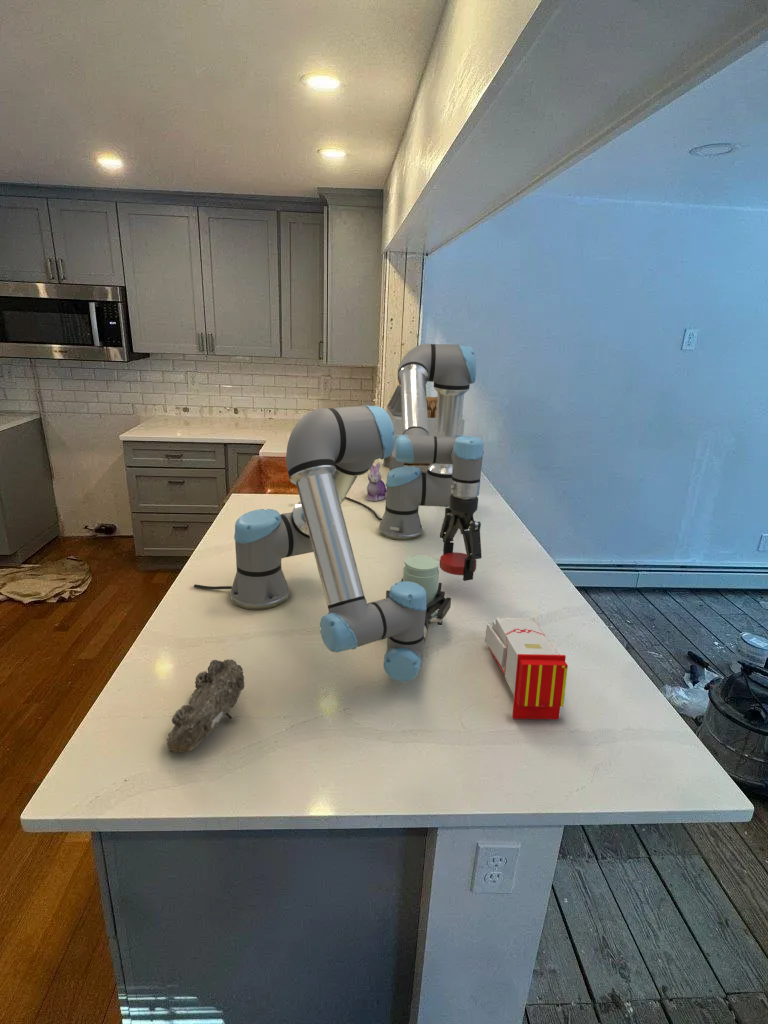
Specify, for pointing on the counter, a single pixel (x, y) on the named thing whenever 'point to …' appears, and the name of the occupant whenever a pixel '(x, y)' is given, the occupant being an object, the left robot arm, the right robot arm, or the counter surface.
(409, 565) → the jar
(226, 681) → the fossil
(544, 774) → the counter surface
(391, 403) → the grey slatted crate
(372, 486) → the figurine
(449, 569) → the lid
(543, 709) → the toy
